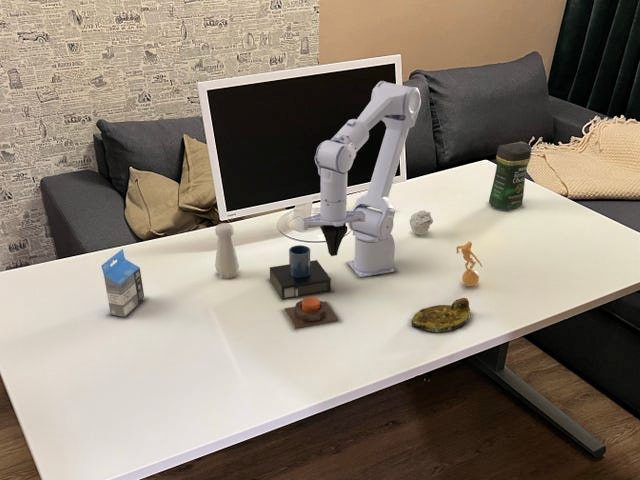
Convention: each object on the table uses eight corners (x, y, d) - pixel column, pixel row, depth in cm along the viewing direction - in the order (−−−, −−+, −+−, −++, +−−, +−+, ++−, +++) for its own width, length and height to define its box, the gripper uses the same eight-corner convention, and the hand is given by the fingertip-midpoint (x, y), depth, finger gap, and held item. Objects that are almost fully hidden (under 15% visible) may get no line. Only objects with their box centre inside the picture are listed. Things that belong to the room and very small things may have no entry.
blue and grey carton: (125, 318, 162) (116, 268, 155) (109, 315, 163) (100, 265, 156) (145, 299, 169) (138, 250, 162) (130, 296, 170) (122, 248, 163)
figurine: (487, 290, 175) (494, 244, 168) (469, 296, 172) (475, 250, 165) (463, 276, 181) (469, 231, 174) (445, 282, 178) (450, 237, 171)
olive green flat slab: (424, 342, 158) (479, 325, 164) (427, 325, 155) (483, 308, 160) (401, 318, 164) (455, 302, 170) (403, 301, 161) (459, 285, 166)
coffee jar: (502, 213, 212) (512, 150, 202) (484, 203, 218) (493, 142, 207) (527, 207, 217) (538, 145, 206) (508, 197, 222) (518, 137, 211)
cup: (306, 266, 176) (306, 244, 172) (313, 276, 172) (313, 253, 168) (287, 269, 174) (286, 246, 171) (293, 279, 170) (292, 256, 167)
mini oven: (316, 272, 181) (316, 259, 179) (331, 293, 173) (331, 280, 170) (270, 280, 177) (269, 267, 175) (282, 301, 169) (282, 288, 167)
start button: (316, 302, 165) (316, 295, 164) (322, 311, 162) (322, 304, 161) (299, 305, 164) (299, 298, 163) (305, 314, 160) (305, 307, 159)
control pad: (325, 303, 168) (325, 294, 167) (337, 321, 162) (338, 311, 161) (284, 311, 165) (283, 301, 164) (294, 329, 159) (294, 319, 158)
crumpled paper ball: (418, 241, 196) (420, 217, 192) (403, 231, 201) (405, 207, 197) (436, 236, 199) (439, 212, 195) (421, 227, 204) (423, 203, 200)
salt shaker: (235, 281, 176) (231, 231, 169) (212, 278, 177) (208, 229, 170) (242, 270, 181) (239, 221, 174) (220, 267, 182) (216, 219, 174)
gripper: (307, 208, 153) (308, 266, 161) (371, 200, 158) (368, 256, 165) (297, 196, 159) (298, 252, 167) (359, 188, 163) (357, 243, 171)
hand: (332, 253), depth 166 cm, fingers closed
